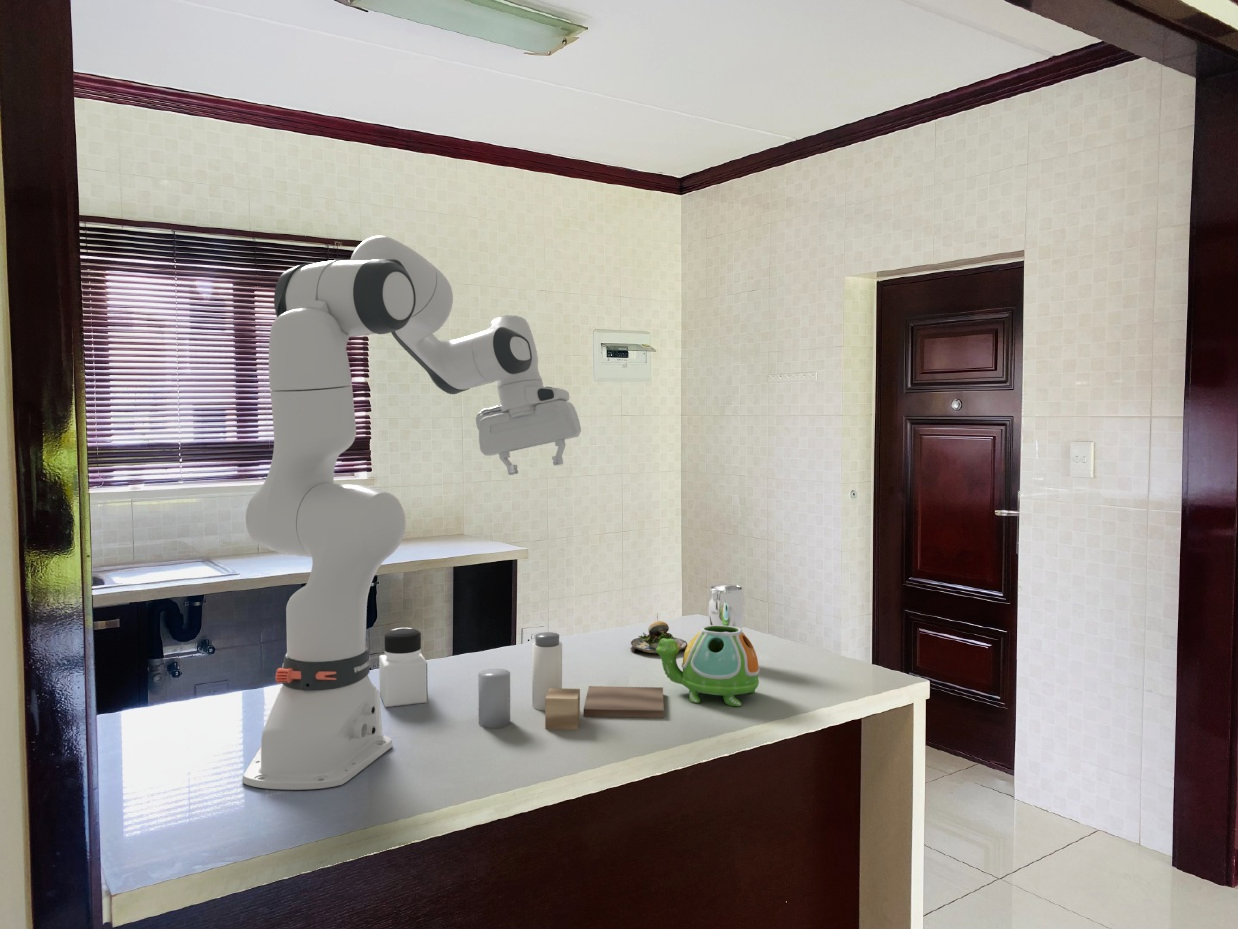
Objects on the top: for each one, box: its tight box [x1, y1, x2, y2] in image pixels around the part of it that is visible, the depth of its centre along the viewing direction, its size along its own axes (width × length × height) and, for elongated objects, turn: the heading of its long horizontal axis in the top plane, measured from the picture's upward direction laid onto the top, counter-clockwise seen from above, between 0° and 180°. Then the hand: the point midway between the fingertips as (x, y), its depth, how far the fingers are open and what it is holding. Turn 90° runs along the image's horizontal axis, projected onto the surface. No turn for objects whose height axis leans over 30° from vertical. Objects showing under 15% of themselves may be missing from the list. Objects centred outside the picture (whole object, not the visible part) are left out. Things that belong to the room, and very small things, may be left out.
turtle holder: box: [656, 624, 761, 707], centre depth 158 cm, size 12×18×12 cm
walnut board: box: [582, 685, 665, 719], centre depth 153 cm, size 12×13×1 cm
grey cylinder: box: [477, 668, 511, 729], centre depth 144 cm, size 5×5×8 cm
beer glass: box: [708, 583, 745, 633], centre depth 178 cm, size 7×7×15 cm
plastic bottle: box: [531, 631, 563, 711], centre depth 152 cm, size 5×5×12 cm
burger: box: [630, 614, 688, 654], centre depth 187 cm, size 12×12×8 cm
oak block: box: [544, 687, 581, 731], centre depth 144 cm, size 5×5×5 cm
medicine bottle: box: [378, 627, 428, 708], centre depth 155 cm, size 7×7×12 cm
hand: (535, 469), depth 176 cm, fingers open, 8 cm apart
